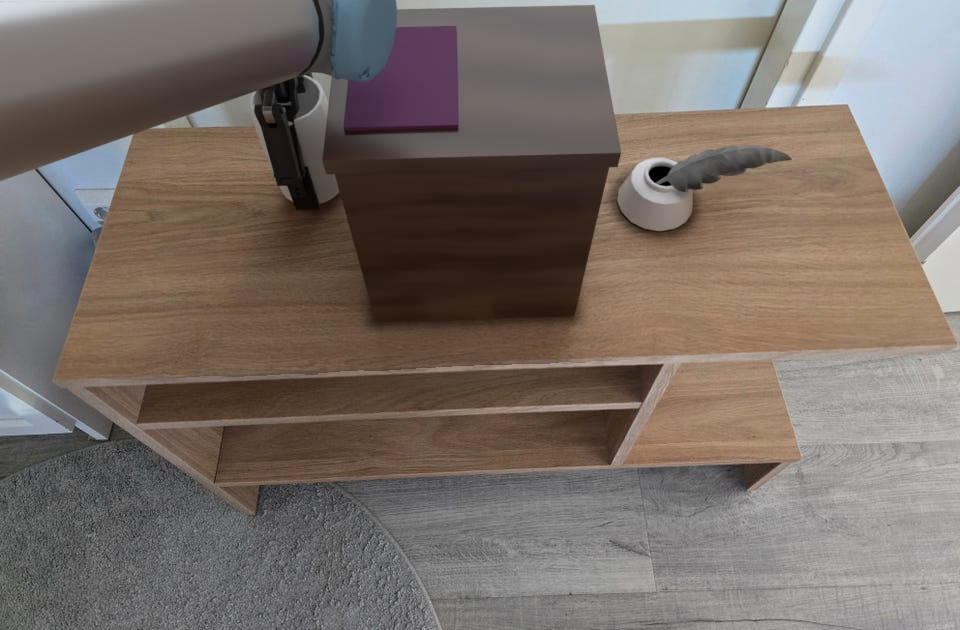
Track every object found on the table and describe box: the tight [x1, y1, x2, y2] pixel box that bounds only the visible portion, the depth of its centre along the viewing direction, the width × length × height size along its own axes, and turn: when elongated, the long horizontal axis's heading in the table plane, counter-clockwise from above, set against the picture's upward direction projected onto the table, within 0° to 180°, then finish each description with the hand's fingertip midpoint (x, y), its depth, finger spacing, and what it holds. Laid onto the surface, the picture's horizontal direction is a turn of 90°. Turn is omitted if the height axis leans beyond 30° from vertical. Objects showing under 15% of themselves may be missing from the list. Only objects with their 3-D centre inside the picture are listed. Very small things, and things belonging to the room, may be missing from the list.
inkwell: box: [616, 144, 793, 232], centre depth 79 cm, size 9×18×10 cm, turn 90°
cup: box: [249, 75, 340, 205], centre depth 78 cm, size 8×8×14 cm
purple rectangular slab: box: [343, 26, 458, 131], centre depth 56 cm, size 12×9×1 cm
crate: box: [322, 4, 622, 323], centre depth 68 cm, size 18×23×26 cm
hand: (311, 178), depth 83 cm, fingers closed on cup, 8 cm apart
